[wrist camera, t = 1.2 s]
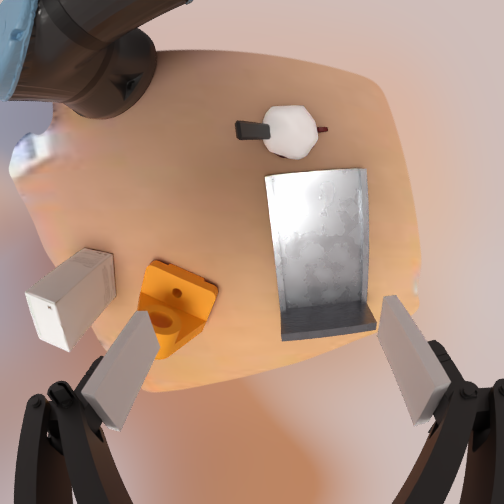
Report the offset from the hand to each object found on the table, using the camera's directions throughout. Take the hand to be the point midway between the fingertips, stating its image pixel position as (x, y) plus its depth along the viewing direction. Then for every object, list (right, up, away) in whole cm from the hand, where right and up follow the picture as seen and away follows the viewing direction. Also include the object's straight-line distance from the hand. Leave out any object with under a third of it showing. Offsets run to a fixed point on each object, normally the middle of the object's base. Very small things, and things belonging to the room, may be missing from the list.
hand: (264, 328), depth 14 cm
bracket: (-11, -2, +27) cm, 29 cm away
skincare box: (-26, +1, +27) cm, 37 cm away
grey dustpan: (+9, +5, +22) cm, 24 cm away
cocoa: (+4, +19, +18) cm, 26 cm away
